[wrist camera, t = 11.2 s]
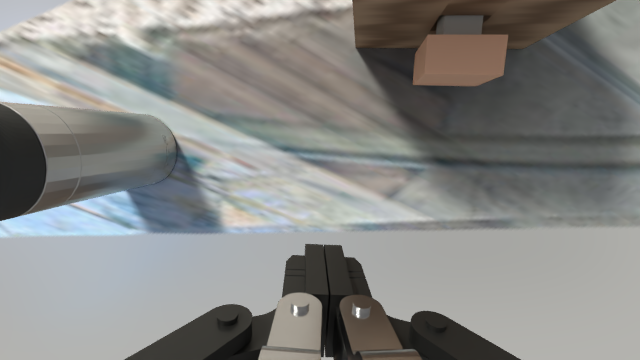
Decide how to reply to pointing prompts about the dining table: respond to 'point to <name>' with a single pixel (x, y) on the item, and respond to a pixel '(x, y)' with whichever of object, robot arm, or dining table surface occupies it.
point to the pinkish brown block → (459, 53)
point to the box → (493, 3)
